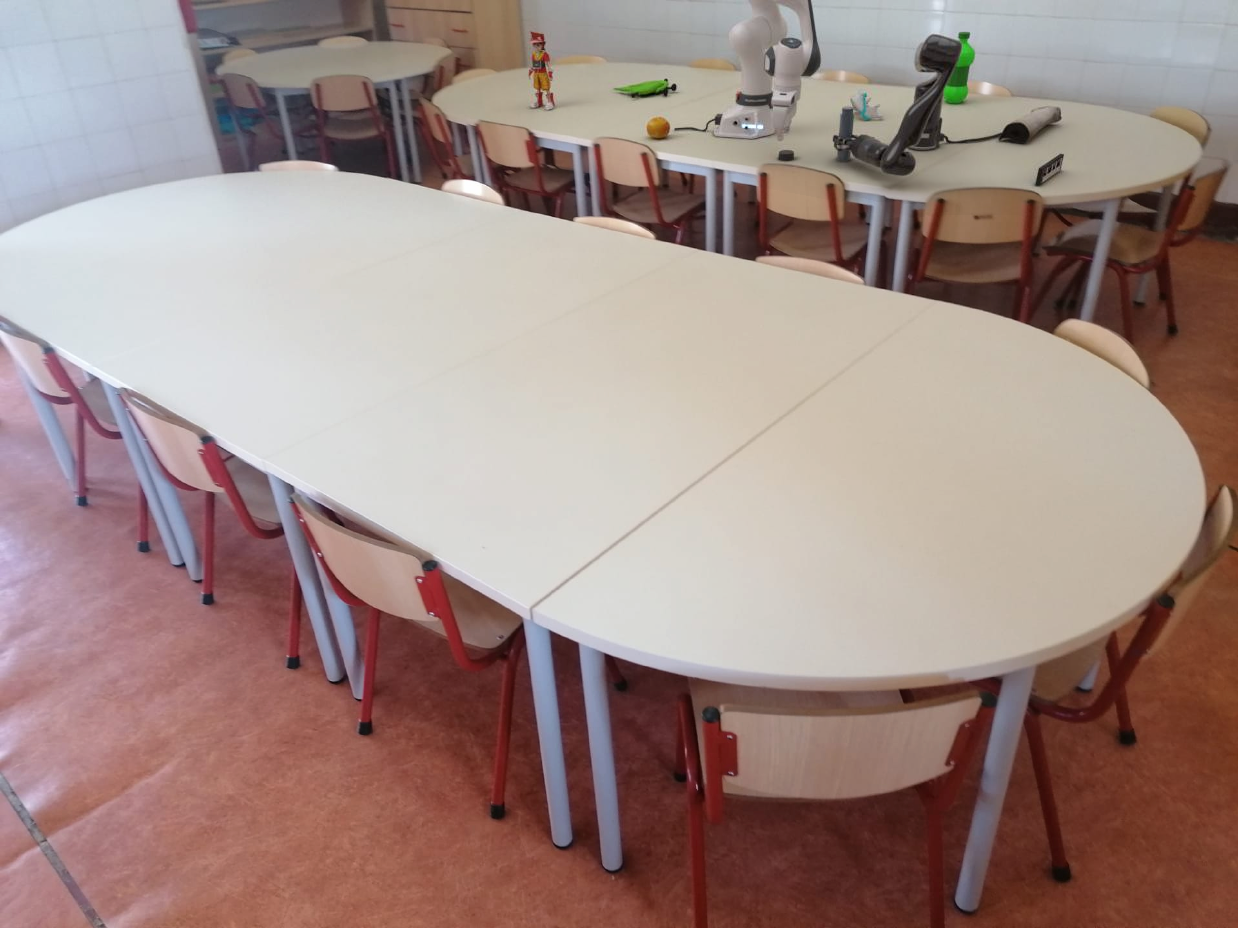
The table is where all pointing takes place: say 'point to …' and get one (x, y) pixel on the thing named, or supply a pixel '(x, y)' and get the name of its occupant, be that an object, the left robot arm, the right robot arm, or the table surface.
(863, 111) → the anatomical model
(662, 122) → the fruit
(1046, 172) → the midi keyboard
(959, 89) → the plastic bottle
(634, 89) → the toy
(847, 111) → the jar
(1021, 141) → the rolled mat
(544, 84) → the toy
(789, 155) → the lid
